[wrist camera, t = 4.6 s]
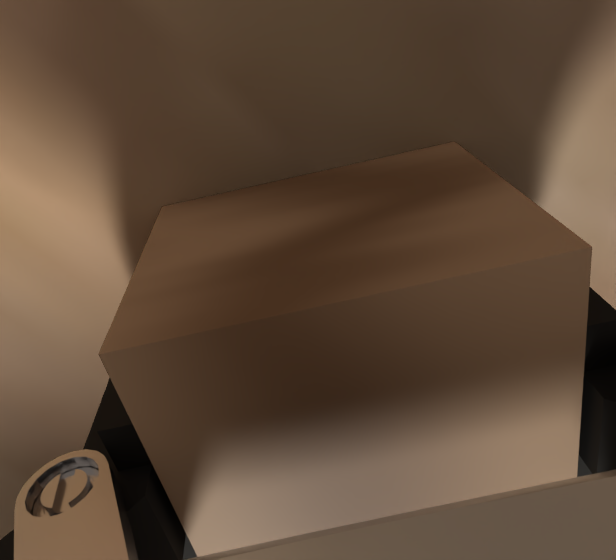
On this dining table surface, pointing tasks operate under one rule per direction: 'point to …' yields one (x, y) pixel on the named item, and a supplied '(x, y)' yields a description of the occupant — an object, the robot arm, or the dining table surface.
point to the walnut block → (352, 347)
